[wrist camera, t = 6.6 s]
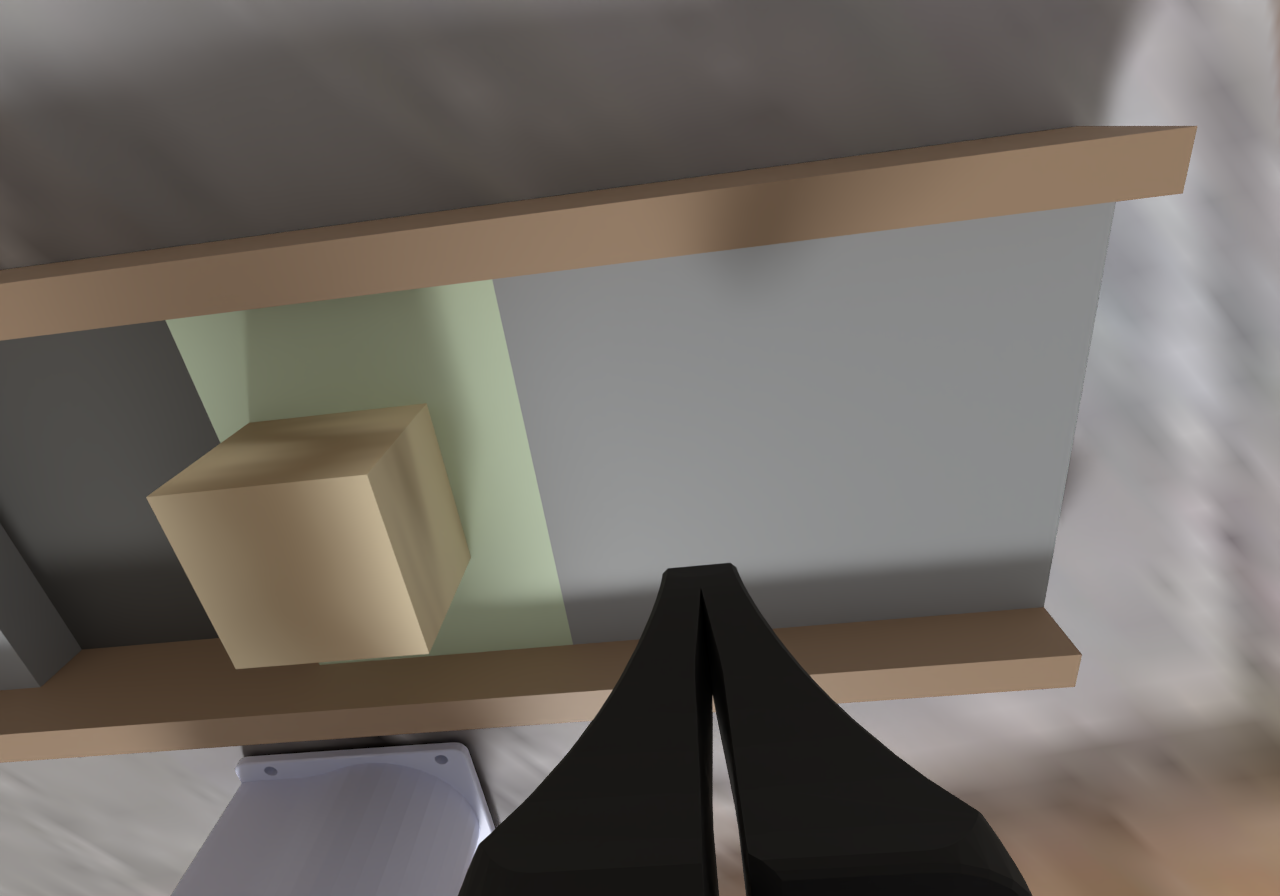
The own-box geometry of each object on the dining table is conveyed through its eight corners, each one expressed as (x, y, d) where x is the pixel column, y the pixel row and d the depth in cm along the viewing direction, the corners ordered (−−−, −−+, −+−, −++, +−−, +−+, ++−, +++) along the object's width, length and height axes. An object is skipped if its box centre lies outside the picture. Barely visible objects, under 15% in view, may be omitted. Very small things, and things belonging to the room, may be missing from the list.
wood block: (311, 572, 20) (235, 669, 16) (248, 422, 18) (146, 497, 14) (471, 557, 20) (429, 653, 16) (426, 403, 17) (367, 474, 14)
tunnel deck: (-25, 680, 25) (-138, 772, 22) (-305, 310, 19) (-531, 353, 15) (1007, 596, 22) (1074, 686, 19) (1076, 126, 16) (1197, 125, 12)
